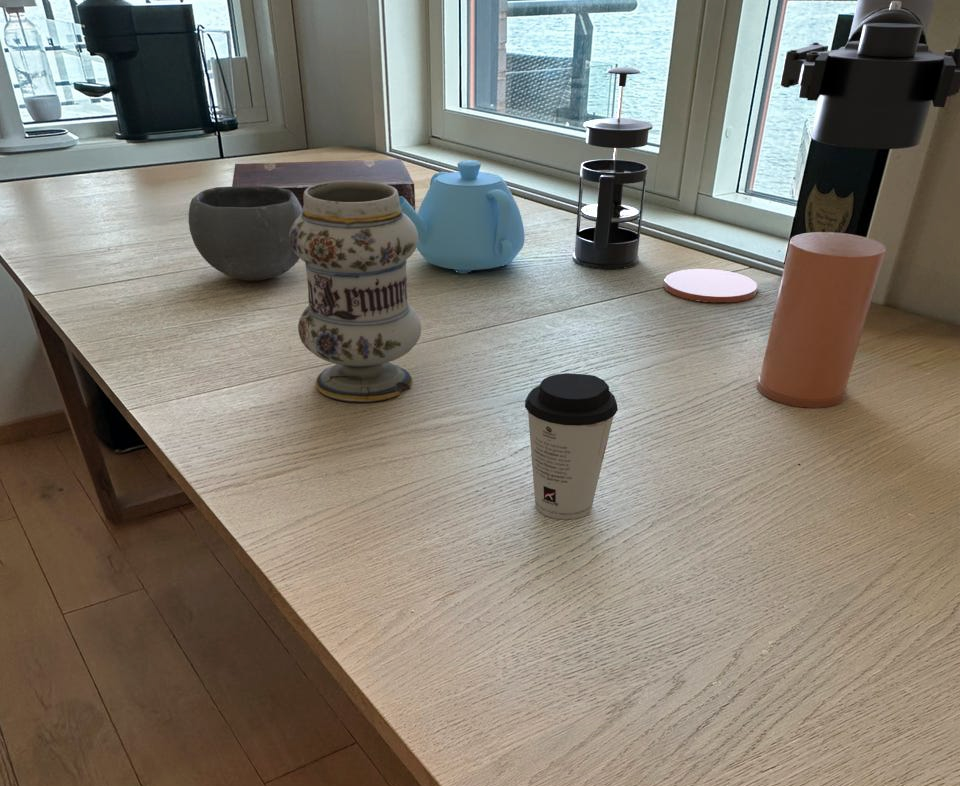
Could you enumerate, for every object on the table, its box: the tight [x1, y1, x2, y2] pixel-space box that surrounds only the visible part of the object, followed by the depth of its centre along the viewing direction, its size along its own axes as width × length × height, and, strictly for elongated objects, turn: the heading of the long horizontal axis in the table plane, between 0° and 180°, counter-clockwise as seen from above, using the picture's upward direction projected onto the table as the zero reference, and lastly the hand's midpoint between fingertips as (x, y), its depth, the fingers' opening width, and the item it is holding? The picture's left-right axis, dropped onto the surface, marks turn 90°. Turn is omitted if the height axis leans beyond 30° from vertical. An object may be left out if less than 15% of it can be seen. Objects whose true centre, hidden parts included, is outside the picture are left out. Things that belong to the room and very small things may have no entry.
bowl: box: [188, 185, 302, 282], centre depth 112 cm, size 15×15×10 cm
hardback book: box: [231, 158, 416, 211], centre depth 145 cm, size 29×19×5 cm, turn 101°
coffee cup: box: [524, 372, 619, 520], centre depth 66 cm, size 7×7×10 cm
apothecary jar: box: [289, 180, 422, 403], centre depth 82 cm, size 12×12×18 cm
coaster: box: [663, 268, 759, 304], centre depth 113 cm, size 12×12×1 cm
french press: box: [572, 66, 654, 270], centre depth 115 cm, size 12×9×23 cm
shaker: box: [756, 231, 887, 409], centre depth 83 cm, size 9×9×14 cm
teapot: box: [399, 160, 525, 274], centre depth 116 cm, size 20×20×13 cm
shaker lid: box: [810, 23, 944, 150], centre depth 71 cm, size 9×9×8 cm
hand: (879, 83), depth 67 cm, fingers closed on shaker lid, 9 cm apart
